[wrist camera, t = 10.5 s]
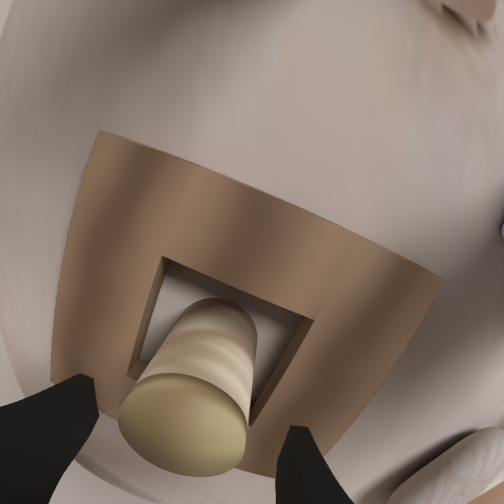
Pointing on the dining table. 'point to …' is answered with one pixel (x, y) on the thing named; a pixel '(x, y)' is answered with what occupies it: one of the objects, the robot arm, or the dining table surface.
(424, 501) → the decorative stone
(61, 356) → the carrier board
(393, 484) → the dining table surface
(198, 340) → the beige wooden cylinder
